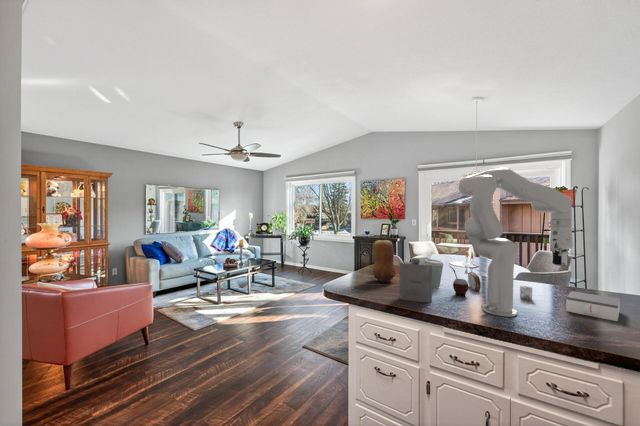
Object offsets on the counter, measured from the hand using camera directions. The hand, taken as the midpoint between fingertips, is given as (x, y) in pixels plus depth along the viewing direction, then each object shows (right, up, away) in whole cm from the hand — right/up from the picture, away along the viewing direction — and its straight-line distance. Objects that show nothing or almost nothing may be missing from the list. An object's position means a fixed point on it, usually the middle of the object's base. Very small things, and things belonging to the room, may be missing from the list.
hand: (560, 263), depth 136 cm
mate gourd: (-38, -20, +17) cm, 46 cm away
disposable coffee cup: (-45, -19, +34) cm, 59 cm away
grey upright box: (-63, -19, +9) cm, 66 cm away
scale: (+10, -20, -5) cm, 23 cm away
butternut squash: (-70, -19, +44) cm, 85 cm away
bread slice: (-23, -19, +31) cm, 43 cm away
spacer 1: (-7, -20, +12) cm, 24 cm away
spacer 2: (0, -1, 0) cm, 1 cm away
